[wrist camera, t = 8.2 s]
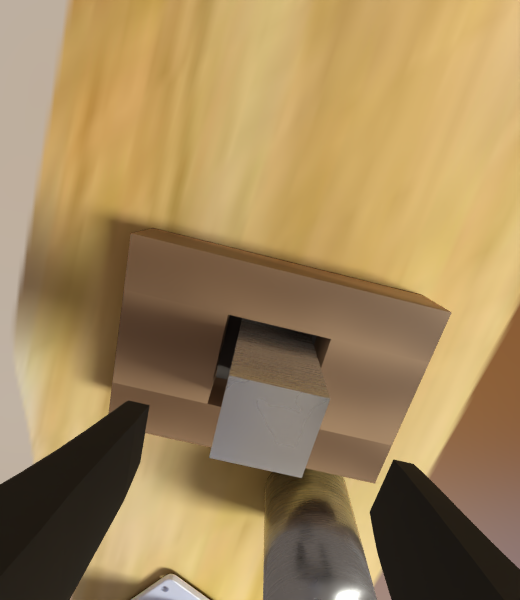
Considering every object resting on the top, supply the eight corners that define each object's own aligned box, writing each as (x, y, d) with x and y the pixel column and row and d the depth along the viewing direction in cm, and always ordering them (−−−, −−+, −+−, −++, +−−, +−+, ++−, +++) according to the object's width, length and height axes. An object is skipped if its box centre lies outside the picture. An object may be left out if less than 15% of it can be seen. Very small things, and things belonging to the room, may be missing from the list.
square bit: (290, 382, 17) (301, 477, 11) (230, 368, 16) (208, 457, 11) (307, 326, 16) (330, 398, 10) (243, 311, 15) (229, 375, 10)
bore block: (360, 445, 18) (374, 483, 15) (129, 393, 17) (107, 424, 15) (422, 295, 15) (451, 312, 13) (153, 228, 15) (130, 233, 12)
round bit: (332, 529, 20) (357, 663, 14) (256, 513, 19) (251, 642, 14) (357, 468, 18) (397, 590, 13) (276, 451, 18) (279, 566, 12)
